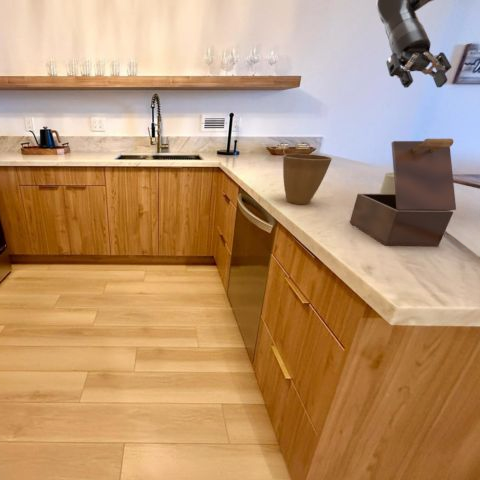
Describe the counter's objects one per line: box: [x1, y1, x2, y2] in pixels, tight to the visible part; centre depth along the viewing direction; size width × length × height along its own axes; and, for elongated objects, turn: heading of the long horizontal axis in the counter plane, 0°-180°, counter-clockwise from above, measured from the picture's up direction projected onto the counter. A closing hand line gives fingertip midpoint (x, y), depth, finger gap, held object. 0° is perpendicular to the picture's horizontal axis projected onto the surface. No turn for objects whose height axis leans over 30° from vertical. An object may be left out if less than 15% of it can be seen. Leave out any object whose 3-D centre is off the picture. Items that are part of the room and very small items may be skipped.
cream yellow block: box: [378, 172, 395, 194], centre depth 91 cm, size 9×9×12 cm
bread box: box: [349, 193, 454, 247], centre depth 75 cm, size 16×13×9 cm
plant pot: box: [282, 153, 333, 205], centre depth 100 cm, size 15×15×16 cm
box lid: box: [391, 138, 457, 211], centre depth 64 cm, size 16×13×6 cm
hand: (425, 84), depth 75 cm, fingers open, 8 cm apart
